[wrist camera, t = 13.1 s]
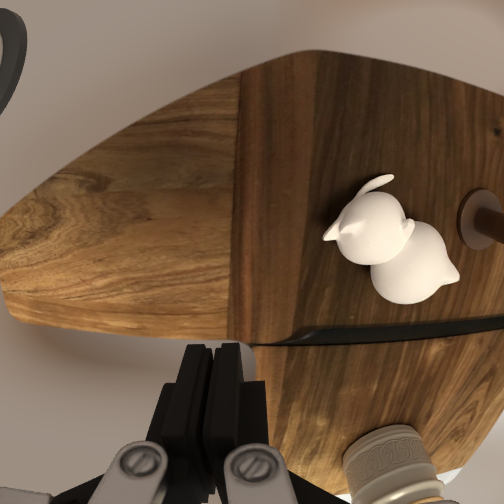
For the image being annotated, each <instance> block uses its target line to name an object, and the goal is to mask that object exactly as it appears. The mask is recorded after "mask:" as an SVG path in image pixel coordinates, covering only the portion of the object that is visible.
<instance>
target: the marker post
mask: <svg viewBox="0 0 504 504" xmlns="http://www.w3.org/2000/svg"><path fill="white" fill-rule="evenodd" d="M457 229H458V233H459V236H460V238H461V240H462V242H463V243H464V244H465V245H466V246H467V247H469V248H471V249H473V250H484V249H486V248H488V247H489V246H490V245H491V244H492V243H493V242H494V241H495V240H496V241H498V242H500V243H502V244H504V213H502V207H501V204H500V201H499V199H498V198H497V196H496V195H495V194H494V193H493V192H491V191H489V190H486V189H476V190H473V191H471V192H470V193H469V194H468V195H467V196H466V197H465V198H464V200H463V201H462V203H461V205H460V208H459V211H458V216H457Z"/></svg>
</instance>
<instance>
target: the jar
mask: <svg viewBox="0 0 504 504" xmlns="http://www.w3.org/2000/svg"><path fill="white" fill-rule="evenodd" d="M343 471H344V475H345V477H346V479H347V483H348V487H349V491H350V495H351V499H352V500H351V504H418V503H426V502H433V501H439V500H444V498H443V497H441V496H440V495H441V494H442V492H443V490H444V483H443V482H442V481H441V480H438V479H437V477H436V472H437V469H436V467H435V465H434V464H433V463H432V461H431V459H430V457H429V455H428V453H427V451H426V449H425V447H424V445H423V441H422V438H421V437H420V435H419V434H418V433H417V432H416V431H415V429H414V428H412V427H411V426H408V425H391V426H387V427H383V428H380V429H377V430H375V431H373V432H370V433H368V434H367V435H365V436H363V437H362V438H360V439H359V440H357V441H356V442H355V443H353V444H352V445H351V446H350V447H349V448H348V450H347V451H346V453H345V454H344V457H343Z"/></svg>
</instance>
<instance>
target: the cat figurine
mask: <svg viewBox="0 0 504 504" xmlns="http://www.w3.org/2000/svg"><path fill="white" fill-rule="evenodd" d="M393 178H394V175H392V174H391V175H383V176H379V177H377V178H375V179H373V180H371V181H369V182H368V183H367V184H365V185H364V186H363V187H362V188H361V190H360V191H359V192H358V193H357V195H356V196H355V198H354V199H353V200H352V201H351V202H349V203H348V204H347V205H346V206H345V207H344V209H343V210H342V211H341V213H340V215H339V217H338V219H337V220H336V221H335V222H334V223H333V224H332V225H331V226H330V227H329V229H328V230H327V231H326V232H325V233H324V235H323V240H325V241H327V240H336V241H337V244H338V247H339V249H340V251H341V252H342V254H343V255H344V256H345V257H346V258H347V259H348V260H350V261H352V262H354V263H357V264H362V265H371V279H372V282H373V285H374V287H375V289H376V290H377V291H378V293H379V294H380V295H381V296H383V297H384V298H385V299H387V300H389V301H391V302H394V303H399V304H412V303H417V302H420V301H423V300H425V299H427V298H428V297H430V296H431V295H432V294H433V293H435V291H436V290H437V289H438V288H439V287H440V286H441V285H445V284H450V283H454V282H457V281H458V280H459V273H458V271H457V270H456V268H455V267H454V265H453V264H452V263H451V261H450V260H449V258H448V255H447V252H446V247H445V244H444V241H443V239H442V237H441V236H440V234H439V233H438V232H437V231H436V230H435V229H434V228H433V227H432V226H430V225H428V224H426V223H424V222H419V221H414V220H412V219H406V217H405V214H404V211H403V209H402V207H401V205H400V204H399V202H398V201H397V200H396V198H395V197H393V196H392V195H390V194H388V193H384V192H369V191H371V190H373V189H375V188H377V187H379V186H381V185H384V184H386V183H388V182H390V181H391V180H392V179H393ZM367 192H369V193H367ZM365 193H366V194H365Z"/></svg>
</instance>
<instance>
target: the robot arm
mask: <svg viewBox="0 0 504 504" xmlns="http://www.w3.org/2000/svg"><path fill="white" fill-rule="evenodd" d="M2 55H3V40H2V37H1V34H0V65H1V61H2ZM216 487H217V490H218V493H219V496H220V499H221V502H222V504H350V503H348V502H346V501H344V500H342V499H340V498H338V497H336V496H334V495H332V494H330V493H328V492H326V491H325V490H323V489H321V488H319V487H317V486H315V485H313V484H312V483H310V482H308V481H306V480H305V479H303V478H301V477H299V476H298V475H296V474H294V473H292V472H291V471H289V470H287V467H286V464H285V461H284V458H283V456H282V455H281V453H280V452H279V451H278V450H277V449H275V448H274V447H271V446H269V438H268V421H267V405H266V390H265V381H251V382H244V378H243V370H242V361H241V352H240V344H239V343H222V346H221V348H216V350H215V355H214V360H213V354H212V349H211V348H206V347H205V345H204V344H188V345H187V347H186V350H185V353H184V356H183V360H182V363H181V367H180V370H179V373H178V376H177V380H176V383H165V384H164V386H163V388H162V391H161V394H160V397H159V400H158V403H157V406H156V409H155V412H154V415H153V418H152V421H151V424H150V427H149V430H148V433H147V437H146V440H145V441H136V442H132V443H130V444H127V445H126V446H124V447H123V448H121V449H120V450H119V451H118V453H117V454H116V456H115V457H114V459H113V461H112V462H111V464H110V466H109V468H108V469H107V471H106V473H105V474H103V475H101V476H98V477H96V478H94V479H92V480H90V481H88V482H85V483H83V484H81V485H79V486H77V487H74V488H72V489H70V490H67V491H65V492H63V493H61V494H59V495H57V496H55V497H53V496H52V495H51V494H48V493H40V492H33V491H26V490H19V489H13V488H8V487H0V504H201V503H208V497H209V494H215V488H216ZM418 504H459V503H458V502H455V501H452V500H439V501H433V502H426V503H418Z"/></svg>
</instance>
